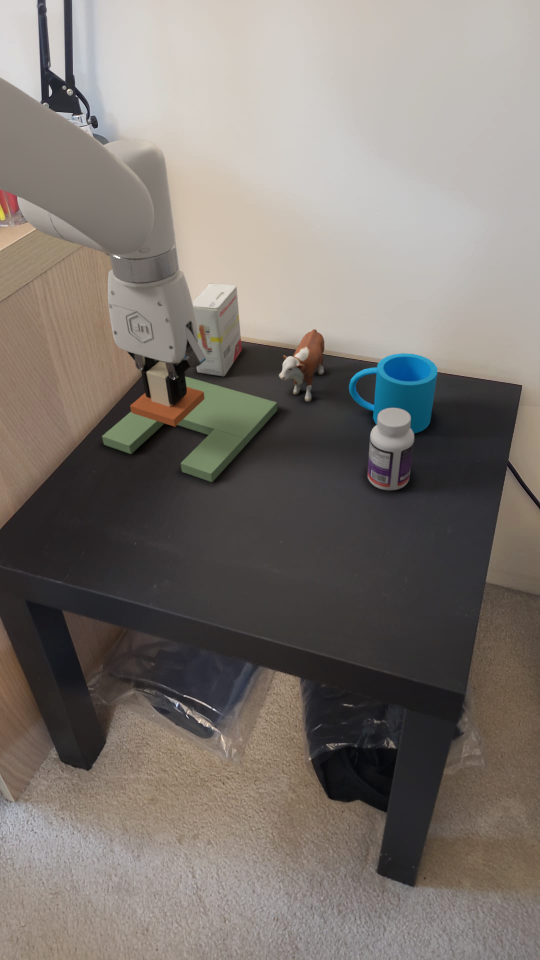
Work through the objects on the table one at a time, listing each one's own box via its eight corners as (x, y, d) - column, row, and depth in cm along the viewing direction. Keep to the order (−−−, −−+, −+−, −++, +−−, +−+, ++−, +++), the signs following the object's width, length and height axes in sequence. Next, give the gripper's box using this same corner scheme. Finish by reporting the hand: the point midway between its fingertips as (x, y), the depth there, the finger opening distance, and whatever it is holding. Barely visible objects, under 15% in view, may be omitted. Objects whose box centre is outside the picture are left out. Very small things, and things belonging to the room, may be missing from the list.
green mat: (103, 444, 96) (101, 436, 95) (176, 381, 108) (175, 373, 107) (212, 482, 89) (211, 473, 88) (277, 410, 101) (277, 402, 100)
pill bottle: (401, 462, 91) (409, 401, 85) (414, 488, 87) (423, 427, 81) (362, 467, 90) (366, 406, 84) (373, 494, 86) (378, 432, 80)
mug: (434, 406, 100) (441, 357, 95) (425, 438, 95) (432, 389, 89) (354, 393, 104) (357, 346, 98) (341, 424, 98) (343, 375, 92)
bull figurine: (275, 409, 101) (273, 361, 96) (306, 364, 110) (306, 318, 105) (303, 415, 100) (303, 367, 94) (332, 369, 109) (333, 322, 104)
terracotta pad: (131, 413, 90) (123, 376, 86) (162, 386, 95) (156, 350, 91) (175, 427, 87) (169, 389, 84) (204, 398, 92) (200, 362, 88)
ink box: (215, 346, 115) (209, 280, 108) (243, 350, 114) (238, 284, 106) (195, 373, 109) (187, 304, 102) (224, 377, 108) (217, 308, 100)
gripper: (67, 261, 79) (99, 395, 91) (186, 288, 72) (203, 427, 84) (109, 238, 83) (134, 367, 96) (223, 261, 77) (234, 396, 89)
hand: (166, 394), depth 90 cm, fingers closed on terracotta pad, 3 cm apart
